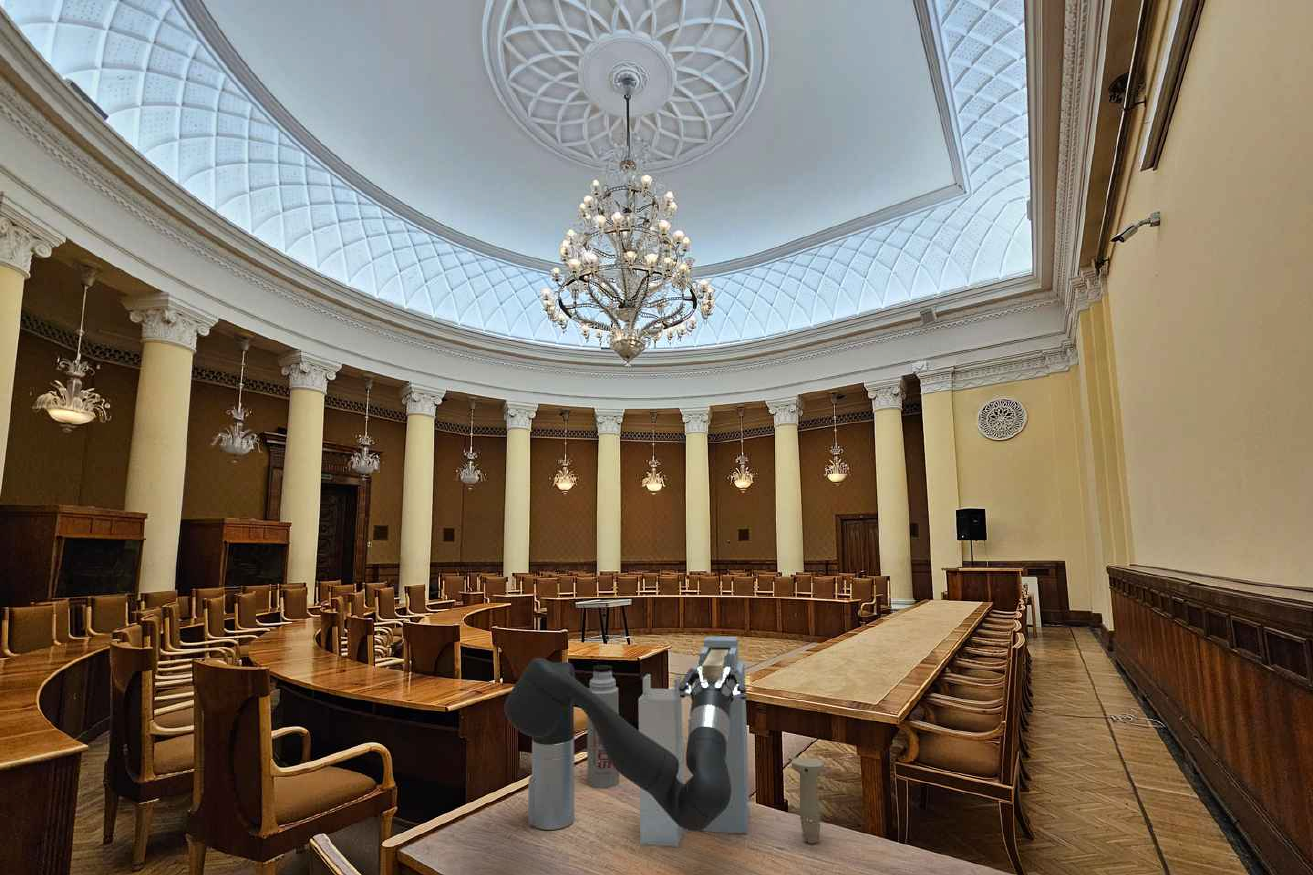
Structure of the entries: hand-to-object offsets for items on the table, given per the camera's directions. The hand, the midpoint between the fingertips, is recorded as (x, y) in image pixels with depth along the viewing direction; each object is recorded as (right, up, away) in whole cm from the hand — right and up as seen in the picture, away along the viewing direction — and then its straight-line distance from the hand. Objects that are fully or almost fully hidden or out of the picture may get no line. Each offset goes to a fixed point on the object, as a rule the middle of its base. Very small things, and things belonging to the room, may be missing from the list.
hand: (715, 658), depth 138 cm
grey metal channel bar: (-11, -36, -3) cm, 37 cm away
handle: (+19, -35, -7) cm, 40 cm away
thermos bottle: (-26, -40, +26) cm, 54 cm away
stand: (+2, -36, +4) cm, 36 cm away
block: (+1, -4, +3) cm, 5 cm away
